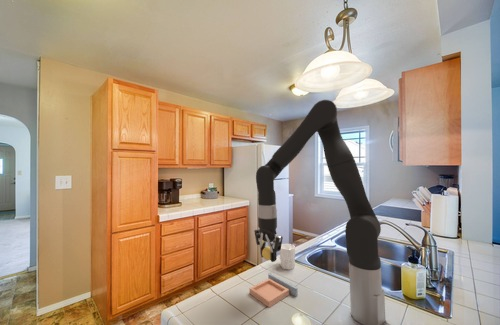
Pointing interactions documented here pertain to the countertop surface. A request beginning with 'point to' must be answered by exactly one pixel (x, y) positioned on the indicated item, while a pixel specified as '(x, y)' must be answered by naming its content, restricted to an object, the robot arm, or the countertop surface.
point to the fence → (284, 284)
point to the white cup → (287, 256)
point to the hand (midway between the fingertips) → (268, 258)
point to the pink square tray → (269, 292)
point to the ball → (266, 253)
